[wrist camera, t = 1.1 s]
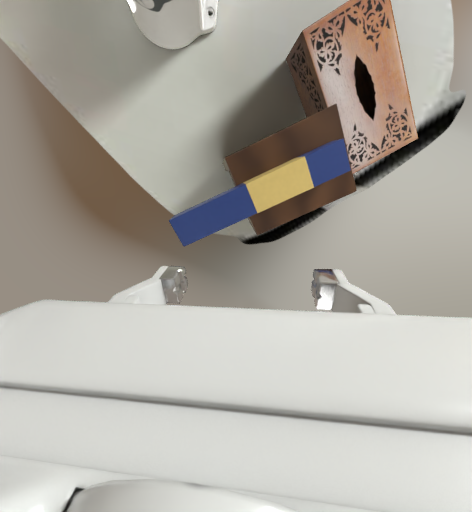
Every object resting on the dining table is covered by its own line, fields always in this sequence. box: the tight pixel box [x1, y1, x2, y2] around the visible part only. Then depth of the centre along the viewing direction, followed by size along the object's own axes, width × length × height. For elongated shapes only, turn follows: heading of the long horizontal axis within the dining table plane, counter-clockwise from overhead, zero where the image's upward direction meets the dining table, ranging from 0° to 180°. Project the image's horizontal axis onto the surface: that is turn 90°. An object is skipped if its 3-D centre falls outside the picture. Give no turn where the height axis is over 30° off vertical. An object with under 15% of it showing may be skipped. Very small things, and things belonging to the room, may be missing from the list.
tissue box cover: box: [286, 0, 418, 174], centre depth 45 cm, size 26×14×10 cm, turn 29°
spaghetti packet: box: [169, 139, 351, 246], centre depth 30 cm, size 24×4×4 cm, turn 114°
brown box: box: [223, 103, 356, 235], centre depth 43 cm, size 16×12×24 cm
